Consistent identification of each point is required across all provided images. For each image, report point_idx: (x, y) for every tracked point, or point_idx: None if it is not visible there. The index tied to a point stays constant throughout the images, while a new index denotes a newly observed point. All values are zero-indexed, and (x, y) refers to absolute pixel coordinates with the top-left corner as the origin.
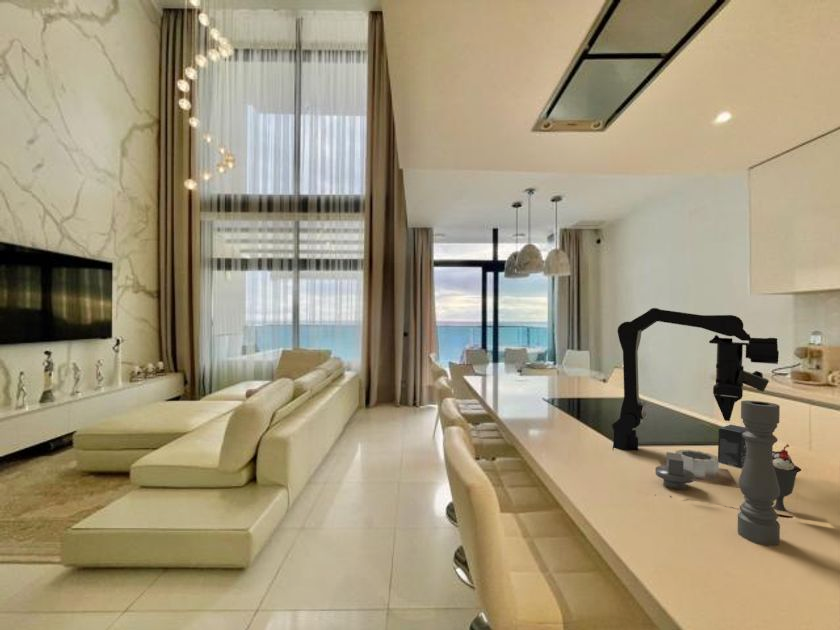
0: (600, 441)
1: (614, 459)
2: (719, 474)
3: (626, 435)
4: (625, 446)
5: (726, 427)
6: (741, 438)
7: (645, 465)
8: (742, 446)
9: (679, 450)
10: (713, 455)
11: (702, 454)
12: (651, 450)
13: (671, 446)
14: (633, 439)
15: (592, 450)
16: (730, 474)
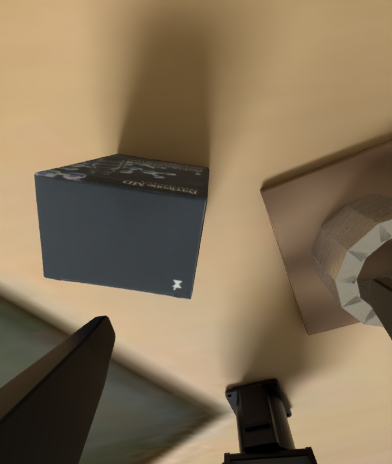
0: (226, 443)
1: (355, 393)
2: (340, 197)
3: (292, 443)
4: (284, 410)
5: (152, 276)
6: (203, 189)
7: (355, 343)
8: (193, 178)
9: (374, 323)
10: (366, 235)
11: (359, 265)
12: (204, 366)
13: (119, 347)
14: (273, 421)
15: (315, 434)
16: (316, 174)
